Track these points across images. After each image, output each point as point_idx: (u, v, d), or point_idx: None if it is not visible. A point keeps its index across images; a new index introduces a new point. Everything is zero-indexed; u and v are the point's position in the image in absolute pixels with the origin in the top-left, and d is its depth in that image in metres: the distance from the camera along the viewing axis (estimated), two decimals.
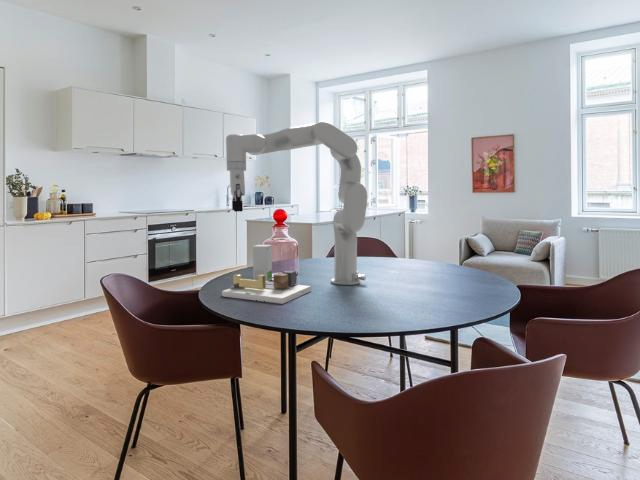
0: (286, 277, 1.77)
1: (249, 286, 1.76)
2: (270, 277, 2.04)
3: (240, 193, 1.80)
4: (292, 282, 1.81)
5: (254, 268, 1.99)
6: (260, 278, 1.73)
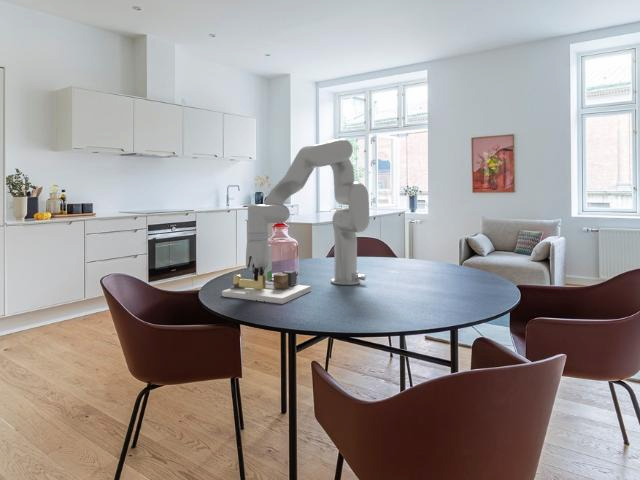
0: (286, 277, 1.77)
1: (249, 286, 1.76)
2: (270, 277, 2.04)
3: None
4: (292, 282, 1.81)
5: None
6: (260, 278, 1.73)
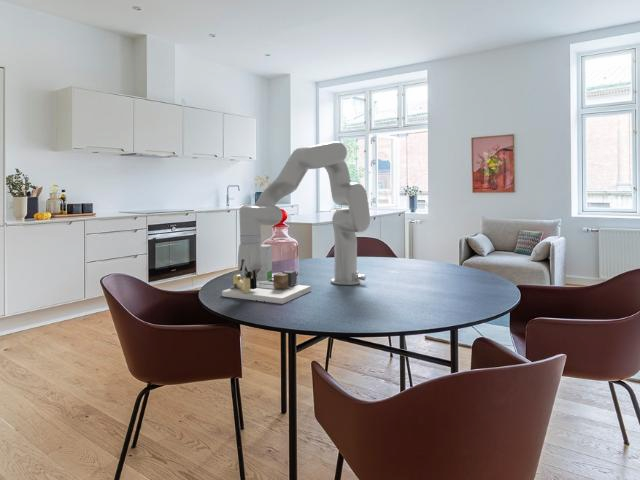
0: (286, 277, 1.77)
1: (240, 287, 1.74)
2: (270, 277, 2.04)
3: None
4: (292, 282, 1.81)
5: None
6: (243, 281, 1.69)
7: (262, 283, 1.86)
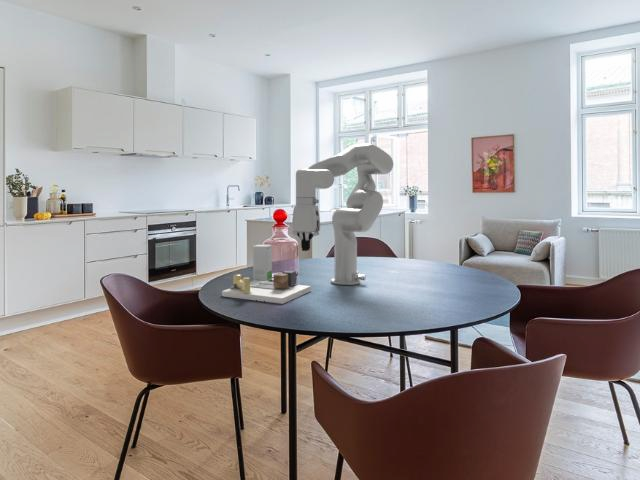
0: (286, 277, 1.77)
1: (240, 287, 1.74)
2: (270, 277, 2.04)
3: (311, 232, 1.78)
4: (292, 282, 1.81)
5: (254, 268, 1.99)
6: (243, 281, 1.69)
7: (262, 283, 1.86)
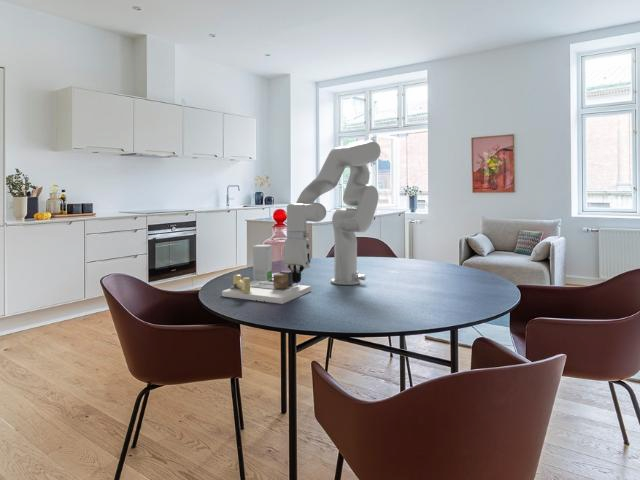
0: (286, 277, 1.77)
1: (240, 287, 1.74)
2: (270, 277, 2.04)
3: (302, 264, 1.81)
4: (289, 282, 1.82)
5: (254, 268, 1.99)
6: (243, 281, 1.69)
7: (262, 283, 1.86)
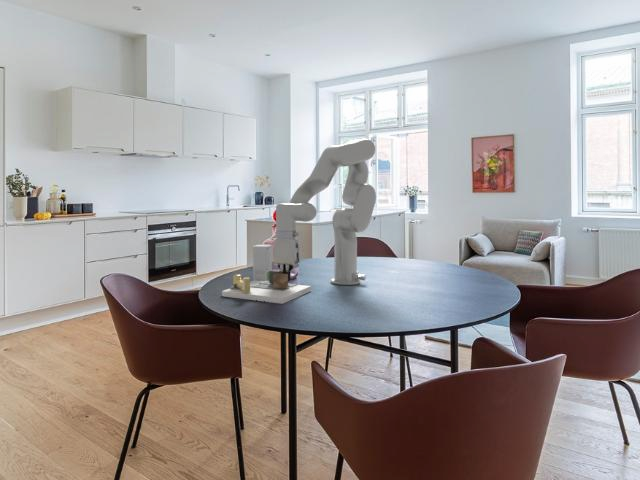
0: (286, 277, 1.77)
1: (240, 287, 1.74)
2: None
3: None
4: None
5: (254, 268, 1.99)
6: (243, 281, 1.69)
7: (262, 283, 1.86)
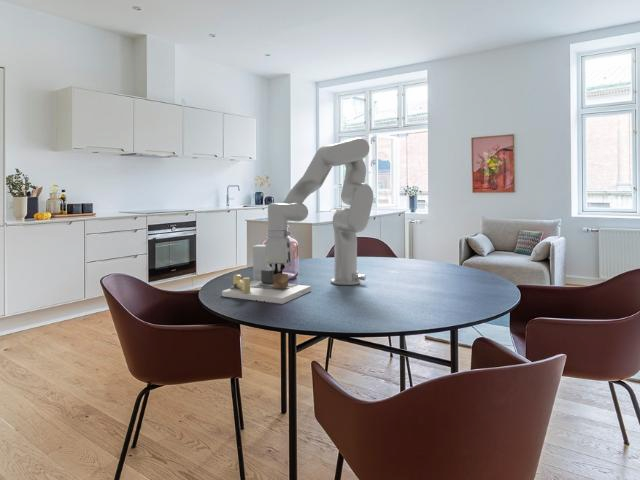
0: (286, 277, 1.77)
1: (240, 287, 1.74)
2: None
3: None
4: (270, 280, 1.85)
5: (254, 268, 1.99)
6: (243, 281, 1.69)
7: (262, 283, 1.86)
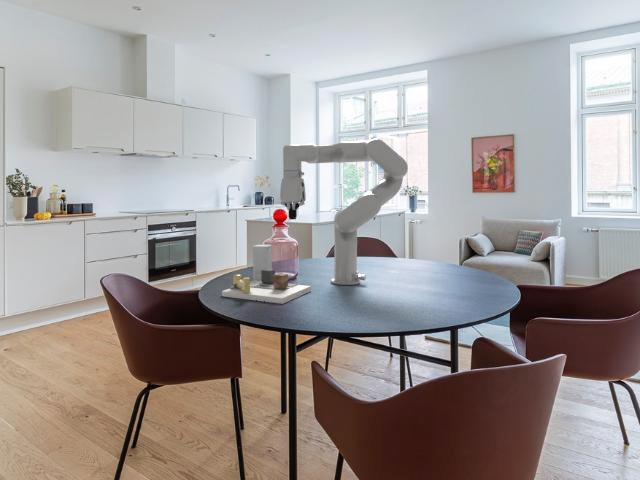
0: (286, 277, 1.77)
1: (240, 287, 1.74)
2: None
3: (298, 202, 1.95)
4: (270, 280, 1.85)
5: (254, 268, 1.99)
6: (243, 281, 1.69)
7: (262, 283, 1.86)
